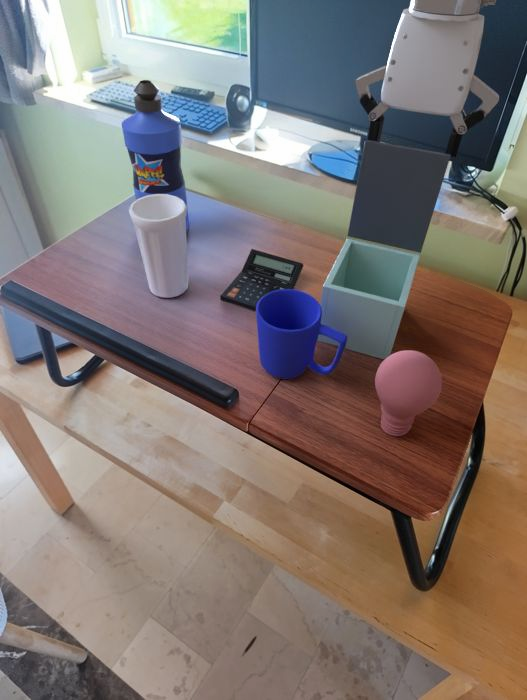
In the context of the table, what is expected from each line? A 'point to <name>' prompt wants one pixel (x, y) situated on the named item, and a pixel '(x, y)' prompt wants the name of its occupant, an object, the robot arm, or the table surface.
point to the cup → (162, 242)
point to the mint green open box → (367, 296)
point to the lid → (396, 194)
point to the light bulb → (406, 389)
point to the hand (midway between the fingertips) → (409, 155)
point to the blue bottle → (154, 146)
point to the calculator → (261, 279)
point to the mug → (292, 333)
